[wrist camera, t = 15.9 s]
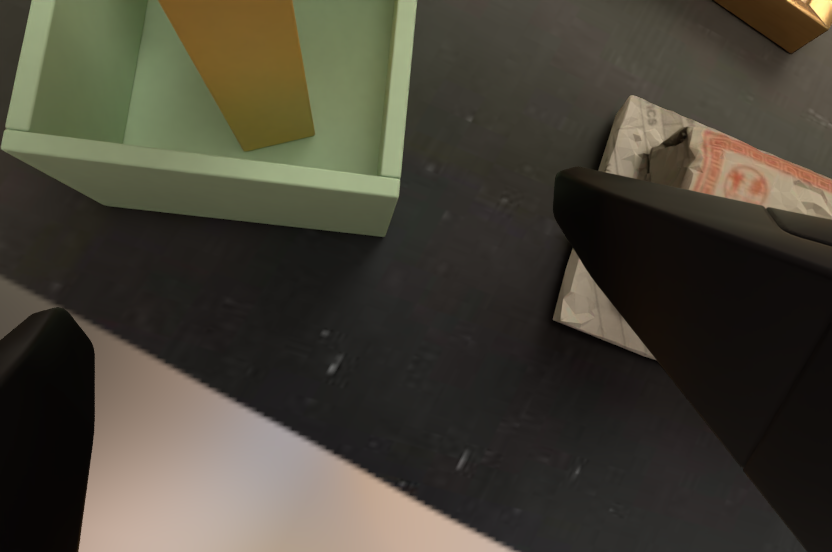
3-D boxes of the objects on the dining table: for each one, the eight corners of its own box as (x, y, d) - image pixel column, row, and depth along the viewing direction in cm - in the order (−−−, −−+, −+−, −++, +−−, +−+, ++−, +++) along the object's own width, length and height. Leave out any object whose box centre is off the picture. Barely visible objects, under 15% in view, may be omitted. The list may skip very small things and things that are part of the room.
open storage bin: (385, 237, 20) (398, 197, 14) (103, 206, 18) (-2, 149, 13) (408, -4, 21) (428, -124, 16) (149, -48, 20) (71, -196, 14)
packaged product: (1110, 229, 18) (1080, 495, 17) (954, 251, 23) (919, 461, 22) (681, 45, 17) (604, 318, 15) (608, 109, 22) (544, 323, 20)
